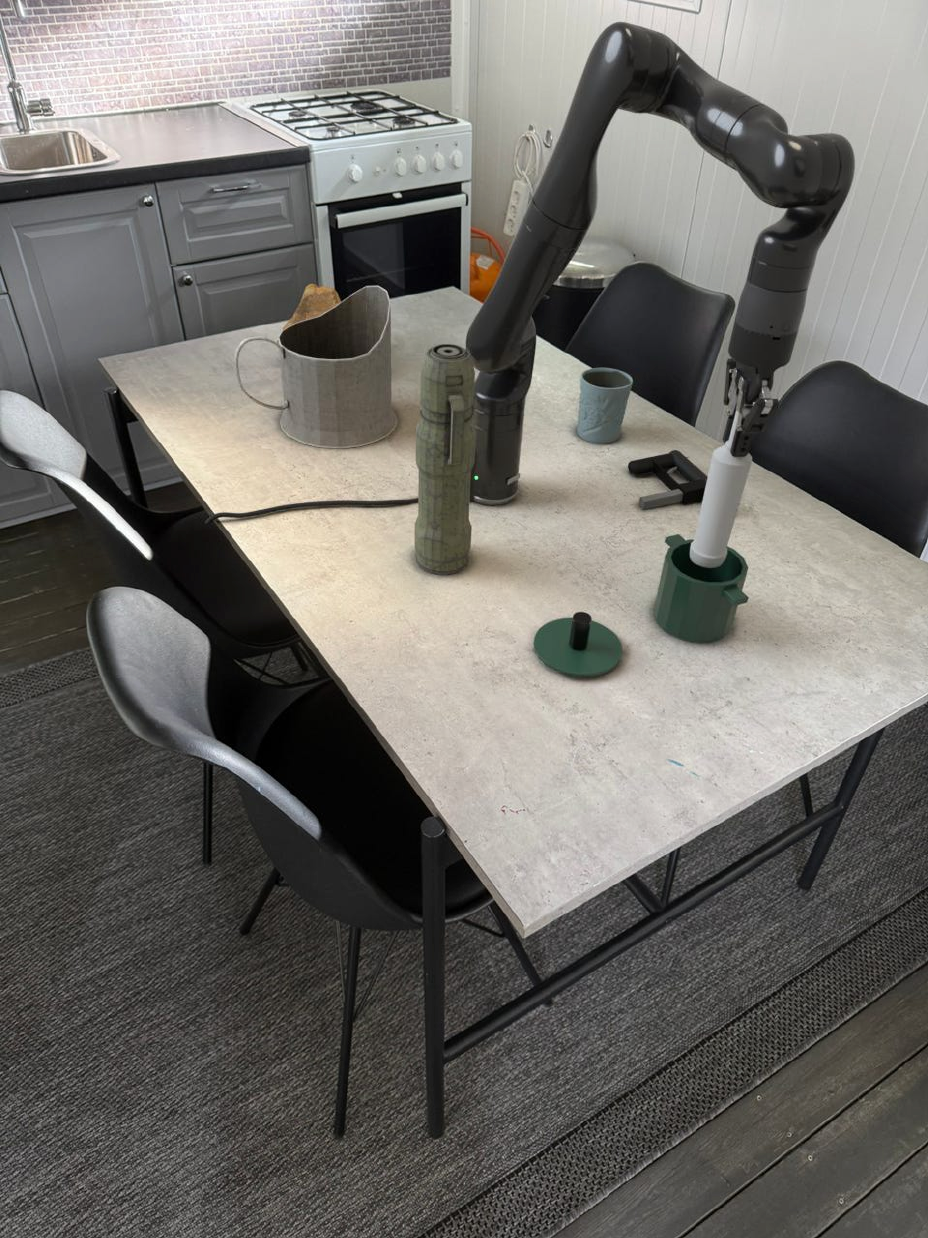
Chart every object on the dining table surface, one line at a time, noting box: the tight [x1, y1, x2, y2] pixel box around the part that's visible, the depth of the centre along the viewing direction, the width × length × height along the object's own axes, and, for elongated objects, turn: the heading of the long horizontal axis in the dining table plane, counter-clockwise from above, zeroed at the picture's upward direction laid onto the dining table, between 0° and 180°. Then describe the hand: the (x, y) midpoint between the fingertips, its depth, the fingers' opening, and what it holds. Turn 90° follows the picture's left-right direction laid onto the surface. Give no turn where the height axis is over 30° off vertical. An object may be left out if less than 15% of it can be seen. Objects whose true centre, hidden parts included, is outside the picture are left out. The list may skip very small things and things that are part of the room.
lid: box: [533, 611, 623, 678], centre depth 129 cm, size 13×13×6 cm
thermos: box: [414, 343, 476, 576], centre depth 136 cm, size 9×12×35 cm
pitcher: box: [233, 285, 398, 449], centre depth 174 cm, size 23×32×25 cm
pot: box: [653, 533, 750, 644], centre depth 134 cm, size 12×17×10 cm
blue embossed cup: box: [576, 367, 634, 445], centre depth 180 cm, size 10×10×12 cm
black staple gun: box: [627, 449, 708, 511], centre depth 166 cm, size 3×20×16 cm
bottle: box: [690, 404, 753, 568], centre depth 123 cm, size 5×5×25 cm
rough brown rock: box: [276, 283, 342, 344], centre depth 200 cm, size 23×17×15 cm
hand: (734, 448), depth 120 cm, fingers closed on bottle, 2 cm apart
